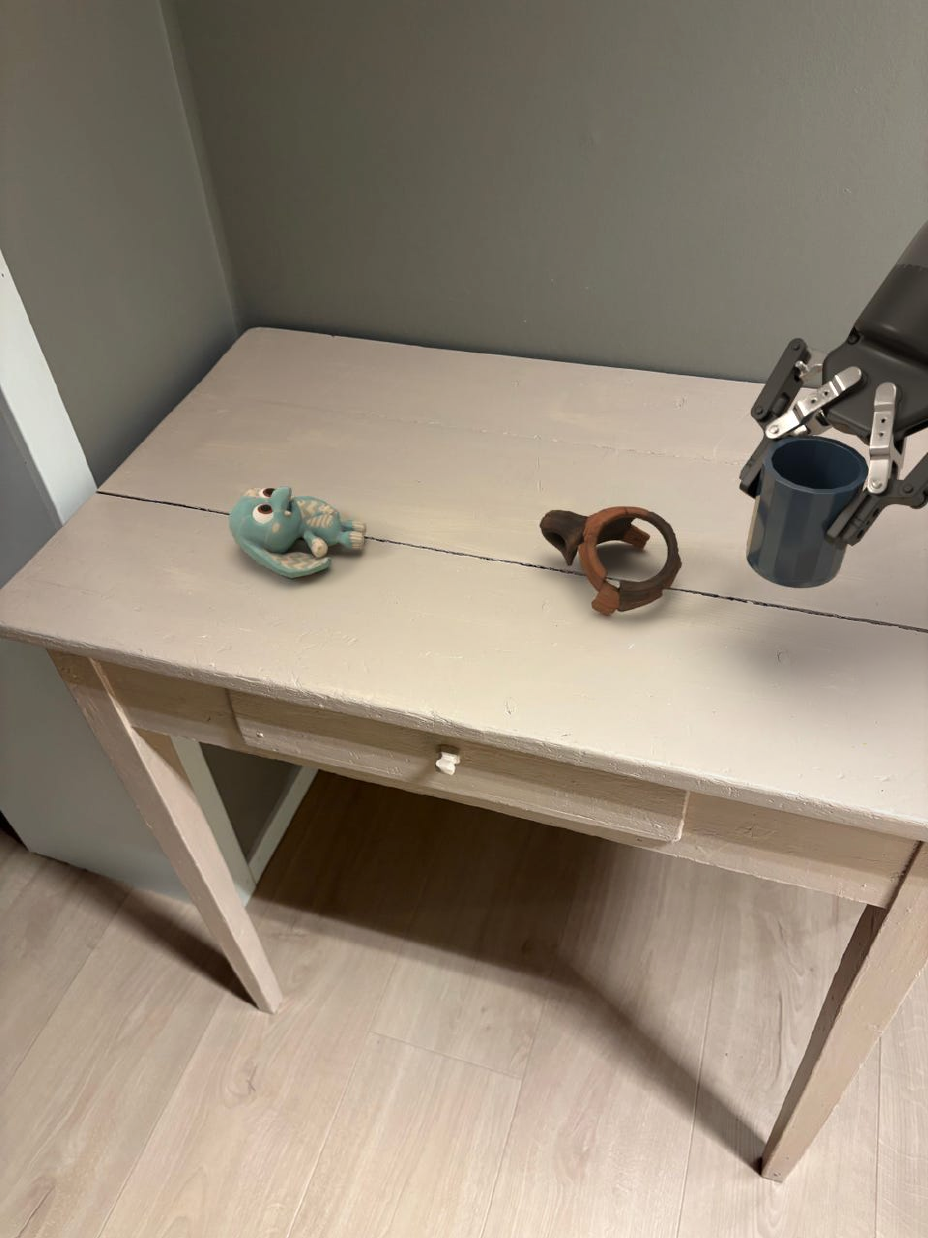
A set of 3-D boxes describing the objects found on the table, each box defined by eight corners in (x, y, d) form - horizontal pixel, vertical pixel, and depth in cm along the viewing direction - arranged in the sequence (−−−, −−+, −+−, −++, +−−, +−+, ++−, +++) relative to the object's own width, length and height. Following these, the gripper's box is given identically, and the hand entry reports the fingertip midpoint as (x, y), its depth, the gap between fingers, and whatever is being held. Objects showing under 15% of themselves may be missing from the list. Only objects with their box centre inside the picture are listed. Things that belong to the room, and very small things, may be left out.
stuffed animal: (361, 538, 78) (213, 519, 77) (356, 601, 83) (217, 584, 82) (375, 462, 86) (240, 443, 85) (369, 524, 91) (242, 507, 90)
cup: (809, 521, 70) (832, 427, 64) (859, 576, 65) (889, 480, 60) (729, 540, 69) (746, 447, 63) (775, 597, 64) (797, 502, 59)
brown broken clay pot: (677, 549, 84) (703, 514, 76) (645, 646, 82) (668, 620, 74) (549, 502, 85) (561, 462, 77) (512, 597, 82) (521, 566, 74)
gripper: (834, 229, 61) (684, 453, 65) (1051, 306, 53) (864, 559, 56) (867, 283, 67) (727, 486, 71) (1067, 360, 59) (897, 587, 62)
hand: (789, 518), depth 63 cm, fingers closed on cup, 6 cm apart
